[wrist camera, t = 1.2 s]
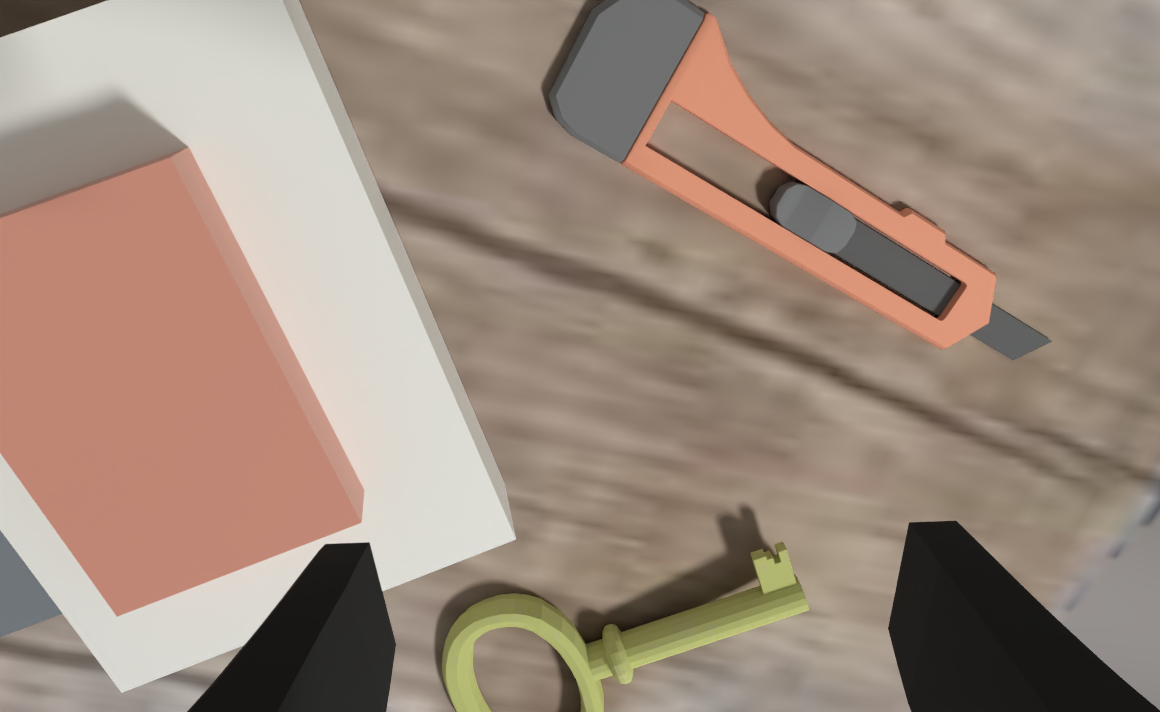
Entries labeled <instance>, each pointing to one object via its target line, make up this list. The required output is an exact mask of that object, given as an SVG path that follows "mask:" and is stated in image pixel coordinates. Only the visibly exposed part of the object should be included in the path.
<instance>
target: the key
mask: <svg viewBox="0 0 1160 712" xmlns="http://www.w3.org/2000/svg"><path fill="white" fill-rule="evenodd" d="M775 548H776V551H777V555H774V556H772V555H771V553H770V551H766V552H764V551H763V549H760V550H757V551H754V552H751V553H750V555H751V558H752V561H753V564H754V568H755V571H756V574H757V577H758V580H759V584H760V586H758V587H755V588H752V589H749V590H746V591H743V592H740V593H737V594H734V595H731V596H728V597H725V598H722V599H719V600H716V601H713V602H710V603H707V604H704V605H701V606H698V607H695V608H692V609H689V610H686V611H683V612H680V613H677V614H674V615H671V616H668V617H665V618H662V619H659V620H656V621H653V622H650V623H647V624H644V625H641V626H638V627H635V628H632V629H629V630H626V631H623V632H621V631H620V629H619V628H618V627H617V626H616V625H614V624H608V625H606V626H605V627H604V629H603V632H602V639H599V640H596V641H593V642H590V643H587V644H585V642H584V640H583V638H582V636H581V635H580V633H579V632H578V630H577V629H576V627H575V626H574V624H573V623H572V622H571V621H570V620H569V619H568V618H567V617H566V616H565V615H564V614H563V613H562V612H561V611H560V610H559V609H557V608H555V607H554V606H552V605H551V604H549V603H547V602H546V601H544V600H543V599H541V598H538V597H534V596H530V595H526V594H517V593H511V594H501V595H497V596H494V597H490V598H487V599H484V600H482V601H480V602H478V603H476V604H474V605H472V606H470V607H469V608H468V609H467V610H466V611H465V612H463V613H462V614H461V615H460V616H459V618H458V619H457V620H456V622H455V623H454V624H453V626H452V627H451V629H450V631H449V633H448V636H447V638H446V641H445V645H444V650H443V655H442V674H443V680H444V683H445V686H446V689H447V692H448V695H449V697H450V699H451V702H452V704H453V706H454V708H455V710H456V711H457V712H492V711H491V710H490V709H489V707H488V705H487V704H486V702H485V700H484V699H483V697H482V695H481V692H480V690H479V688H478V685H477V682H476V678H475V674H474V669H473V647H474V642H475V641H476V639H477V638H478V637H480V636H481V635H482V634H483V633H485V632H487V631H489V630H491V629H496V628H501V627H520V628H524V629H527V630H530V631H533V632H534V633H536V634H537V635H539V636H540V637H542V638H543V639H544V640H546V641H547V642H549V643H550V644H551V645H552V646H553V647H554V648H555V649H556V650H557V651H558V652H559V653H560V654H561V656H562V657H563V659H564V660H565V662H566V663H567V665H568V666H569V667H570V669H571V671H572V673H573V675H574V677H575V678H576V681H577V684H578V688H579V692H580V696H581V710H580V712H603V711H604V695H603V689H602V685H601V681H600V679H603V678H606V677H609V676H612V675H614V676H615V678H616V679H617V680H618V681H619V682H620V683H622V684H628V683H629V682H631V680H632V677H633V668H636V667H639V666H642V665H645V664H648V663H651V662H654V661H657V660H660V659H663V658H666V657H669V656H672V655H675V654H678V653H681V652H684V651H687V650H690V649H693V648H696V647H699V646H703V645H706V644H709V643H712V642H715V641H718V640H721V639H724V638H727V637H730V636H733V635H736V634H739V633H742V632H745V631H748V630H751V629H754V628H757V627H760V626H763V625H766V624H769V623H772V622H775V621H778V620H781V619H784V618H787V617H790V616H793V615H796V614H799V613H802V612H805V611H808V610H809V608H808V604H807V601H806V597H805V595H804V592H803V590H802V587H801V585H800V583H799V580H798V578H797V577H796V575H795V574H794V573H793V570H792V566H791V563H790V559H789V556H788V552H787V549H786V547H785V545H784V543H783V542H781V543H778V544H775Z"/></svg>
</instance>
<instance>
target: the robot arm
mask: <svg viewBox="0 0 1160 712" xmlns="http://www.w3.org/2000/svg"><path fill="white" fill-rule="evenodd" d="M888 629H889V633H890V637H891V641H892V645H893V649H894V653H895V657H896V660H897V664H898V668H899V672H900V675H901V679H902V683H903V686H904V690H905V693H906V697H907V700H908V704H909V706H910V709H911V711H912V712H1160V710H1158V709H1157V708H1156V707H1155V706H1154V705H1153V704H1151V703H1150V702H1149V701H1148V700H1147V699H1145V698H1144V697H1143V696H1142V695H1140V694H1139V693H1138V692H1137V691H1136V690H1135V689H1134V688H1132V687H1131V686H1130V685H1129V684H1128V683H1127V682H1125V681H1124V680H1123V679H1122V678H1121V677H1120V676H1119V675H1117V674H1116V673H1115V672H1114V671H1113V670H1112V669H1111V668H1109V667H1108V666H1107V665H1106V664H1105V663H1104V662H1103V661H1102V660H1100V659H1099V658H1098V657H1097V656H1096V655H1095V654H1094V653H1093V652H1092V651H1091V650H1090V649H1089V648H1087V647H1086V646H1085V645H1084V644H1083V643H1082V642H1081V641H1080V640H1079V639H1078V638H1077V637H1076V636H1075V635H1073V634H1072V633H1071V632H1070V631H1069V630H1068V629H1067V628H1066V627H1065V626H1064V625H1063V624H1062V623H1060V622H1059V621H1058V620H1057V619H1056V618H1055V617H1054V616H1053V615H1052V614H1051V613H1050V612H1049V611H1048V610H1047V609H1046V608H1045V607H1044V606H1043V605H1041V604H1040V603H1039V602H1038V601H1037V600H1036V599H1035V598H1034V597H1033V596H1032V595H1031V594H1030V593H1029V592H1028V591H1027V590H1026V589H1025V588H1024V587H1023V586H1022V585H1021V584H1020V583H1019V582H1018V581H1017V580H1016V579H1015V578H1014V577H1013V576H1012V575H1011V574H1010V573H1009V572H1008V571H1007V570H1006V569H1005V568H1004V567H1003V566H1002V565H1001V564H1000V563H999V562H998V561H997V560H996V559H995V558H994V557H993V556H992V555H991V554H990V553H988V552H987V551H986V550H985V549H984V548H983V547H982V546H981V545H980V544H979V543H978V542H977V541H976V540H975V539H974V538H973V537H972V536H971V535H970V534H969V533H968V532H967V531H966V530H965V529H964V528H963V527H962V526H961V525H960V524H959V523H958V522H957V521H939V522H912V523H909V526H908V531H907V536H906V541H905V546H904V551H903V556H902V561H901V566H900V571H899V576H898V582H897V587H896V592H895V597H894V602H893V607H892V612H891V617H890V622H889V627H888ZM395 646H396V643H395V639H394V635H393V631H392V627H391V624H390V620H389V616H388V612H387V608H386V604H385V600H384V596H383V592H382V589H381V585H380V581H379V577H378V573H377V569H376V565H375V561H374V557H373V554H372V550H371V546H370V542H365V543H337V544H325V545H324V546H323V547H322V548H321V549H320V550H319V551H318V552H317V554H316V555H315V556H314V557H313V559H312V560H311V561H310V563H309V564H308V565H307V566H306V568H305V569H304V570H303V572H302V573H301V574H300V576H299V577H298V578H297V580H296V581H295V582H294V583H293V585H292V586H291V587H290V589H289V590H288V591H287V592H286V594H285V595H284V596H283V598H282V599H281V600H280V601H279V603H278V604H277V605H276V607H275V608H274V609H273V610H272V612H271V613H270V614H269V615H268V617H267V618H266V619H265V620H264V622H263V623H262V624H261V626H260V627H259V628H258V629H257V631H256V632H255V633H254V634H253V635H252V637H251V638H250V639H249V640H248V641H247V643H246V644H245V645H244V646H243V647H242V649H241V650H240V651H239V652H238V654H237V655H236V656H235V657H234V658H233V660H232V661H231V662H230V663H229V664H228V666H227V667H226V668H225V669H224V670H223V672H222V673H221V674H220V675H219V676H218V678H217V679H216V680H215V681H214V682H213V683H212V685H211V686H210V687H209V688H208V689H207V690H206V691H205V693H204V694H203V695H202V696H201V697H200V698H199V699H198V700H197V701H196V703H195V704H194V705H193V706H192V707H191V708H190V709H189V710H188V711H187V712H386V708H387V702H388V696H389V689H390V683H391V675H392V668H393V661H394V654H395Z"/></svg>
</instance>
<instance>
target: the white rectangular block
mask: <svg viewBox="0 0 1160 712" xmlns="http://www.w3.org/2000/svg"><path fill="white" fill-rule="evenodd" d="M187 147H189V148H190V150H191V152H192V154H193V156H194V158H195V160H196V162H197V164H198V166H199V168H200V170H201V172H202V174H203V176H204V178H205V180H206V182H207V184H208V186H209V188H210V189H211V191H212V193H213V195H214V197H215V199H216V201H217V203H218V205H219V207H220V209H221V211H222V213H223V215H224V217H225V219H226V221H227V223H228V225H229V227H230V229H231V231H232V233H233V234H234V236H235V238H236V240H237V242H238V244H239V246H240V248H241V250H242V252H243V254H244V256H245V258H246V260H247V262H248V264H249V266H250V268H251V270H252V272H253V274H254V276H255V277H256V279H257V281H258V283H259V285H260V287H261V289H262V291H263V293H264V295H265V297H266V299H267V301H268V303H269V305H270V307H271V309H272V311H273V313H274V315H275V317H276V319H277V320H278V322H279V324H280V326H281V328H282V330H283V332H284V334H285V336H286V338H287V340H288V342H289V344H290V346H291V348H292V350H293V352H294V354H295V356H296V358H297V360H298V362H299V363H300V365H301V367H302V369H303V371H304V373H305V375H306V377H307V379H308V381H309V383H310V385H311V387H312V389H313V391H314V393H315V395H316V397H317V399H318V401H319V403H320V405H321V406H322V408H323V410H324V412H325V414H326V416H327V418H328V420H329V422H330V424H331V426H332V428H333V430H334V432H335V434H336V436H337V438H338V440H339V442H340V444H341V446H342V448H343V449H344V451H345V453H346V455H347V457H348V459H349V461H350V463H351V465H352V467H353V469H354V471H355V473H356V475H357V477H358V479H359V481H360V483H361V485H362V487H363V489H364V501H363V512H362V523H360V524H357V525H354V526H352V527H349V528H347V529H344V530H341V531H339V532H336V533H334V534H331V535H328V536H326V537H323V538H321V539H318V540H315V541H313V542H310V543H308V544H305V545H302V546H300V547H297V548H295V549H292V550H289V551H287V552H284V553H282V554H279V555H276V556H274V557H271V558H269V559H266V560H263V561H261V562H258V563H256V564H253V565H250V566H248V567H245V568H243V569H240V570H237V571H235V572H232V573H229V574H227V575H224V576H222V577H219V578H216V579H214V580H211V581H209V582H206V583H203V584H201V585H198V586H196V587H193V588H190V589H188V590H185V591H183V592H180V593H177V594H175V595H172V596H170V597H167V598H164V599H162V600H159V601H157V602H154V603H151V604H149V605H146V606H144V607H141V608H138V609H136V610H133V611H131V612H128V613H125V614H123V615H120V616H118V617H117V616H116V615H115V613H114V612H113V611H112V609H111V608H110V606H109V605H108V604H107V602H106V601H105V599H104V598H103V597H102V595H101V594H100V592H99V591H98V589H97V588H96V587H95V585H94V584H93V582H92V581H91V580H90V578H89V577H88V575H87V574H86V573H85V571H84V570H83V568H82V567H81V566H80V564H79V563H78V561H77V560H76V559H75V557H74V556H73V554H72V553H71V552H70V550H69V549H68V547H67V546H66V545H65V543H64V542H63V540H62V539H61V538H60V536H59V535H58V533H57V532H56V531H55V529H54V528H53V526H52V525H51V524H50V522H49V521H48V519H47V518H46V517H45V515H44V514H43V512H42V511H41V510H40V508H39V507H38V505H37V504H36V503H35V501H34V500H33V498H32V497H31V496H30V494H29V493H28V491H27V490H26V489H25V487H24V486H23V484H22V483H21V482H20V480H19V479H18V477H17V476H16V475H15V473H14V472H13V470H12V469H11V468H10V466H9V465H8V463H7V462H6V461H5V459H4V458H3V456H2V455H1V454H0V530H1V532H2V533H3V534H4V536H5V537H6V538H7V540H8V541H9V542H10V544H11V545H12V546H13V548H14V549H15V550H16V552H17V553H18V554H19V556H20V557H21V558H22V560H23V561H24V562H25V564H26V565H27V566H28V568H29V569H30V571H31V572H32V573H33V575H34V576H35V577H36V579H37V580H38V581H39V583H40V584H41V585H42V587H43V588H44V589H45V591H46V592H47V593H48V595H49V596H50V597H51V599H52V600H53V601H54V603H55V604H56V605H57V607H58V608H59V609H60V611H61V612H62V613H63V615H64V616H65V617H66V619H67V620H68V621H69V623H70V624H71V625H72V627H73V628H74V629H75V631H76V632H77V633H78V635H79V636H80V637H81V639H82V640H83V641H84V643H85V644H86V645H87V647H88V648H89V650H90V651H91V652H92V654H93V655H94V656H95V658H96V659H97V660H98V662H99V663H100V664H101V666H102V667H103V668H104V670H105V671H106V672H107V674H108V675H109V676H110V678H111V679H112V680H113V682H114V683H115V684H116V686H117V687H118V688H119V690H120V691H121V692H125V691H127V690H130V689H133V688H135V687H138V686H140V685H143V684H145V683H148V682H151V681H153V680H156V679H158V678H161V677H163V676H166V675H169V674H171V673H174V672H176V671H179V670H181V669H184V668H187V667H189V666H192V665H194V664H197V663H199V662H202V661H205V660H207V659H210V658H212V657H215V656H217V655H220V654H223V653H225V652H228V651H230V650H233V649H235V648H238V647H241V646H243V645H245V644H246V643H247V641H248V640H249V639H250V638H251V637H252V635H253V634H254V633H255V632H256V631H257V629H258V628H259V627H260V626H261V624H262V623H263V622H264V620H265V619H266V618H267V617H268V615H269V614H270V613H271V612H272V610H273V609H274V608H275V607H276V605H277V604H278V603H279V601H280V600H281V599H282V598H283V596H284V595H285V594H286V592H287V591H288V590H289V589H290V587H291V586H292V585H293V583H294V582H295V581H296V580H297V578H298V577H299V576H300V574H301V573H302V572H303V570H304V569H305V568H306V566H307V565H308V564H309V563H310V561H311V560H312V559H313V557H314V556H315V555H316V554H317V552H318V551H319V550H320V549H321V548H322V547H323V546H324V545H325V544H337V543H365V542H370V546H371V550H372V554H373V557H374V561H375V565H376V569H377V573H378V577H379V581H380V585H381V589H382V591H385V590H387V589H390V588H392V587H395V586H397V585H400V584H403V583H405V582H408V581H410V580H413V579H415V578H418V577H421V576H423V575H426V574H428V573H431V572H433V571H436V570H439V569H441V568H444V567H446V566H449V565H451V564H454V563H457V562H459V561H462V560H464V559H467V558H469V557H472V556H475V555H477V554H480V553H482V552H485V551H487V550H490V549H493V548H495V547H498V546H500V545H503V544H505V543H508V542H511V541H513V540H516V536H515V531H514V527H513V522H512V517H511V512H510V507H509V503H508V498H507V493H506V488H505V483H504V481H503V479H502V476H501V474H500V472H499V469H498V467H497V465H496V462H495V460H494V458H493V455H492V453H491V451H490V448H489V446H488V444H487V441H486V439H485V436H484V434H483V432H482V429H481V427H480V425H479V422H478V420H477V418H476V415H475V413H474V411H473V408H472V406H471V404H470V401H469V399H468V397H467V394H466V392H465V390H464V387H463V385H462V382H461V380H460V378H459V375H458V373H457V371H456V368H455V366H454V364H453V361H452V359H451V357H450V354H449V352H448V350H447V347H446V345H445V343H444V340H443V338H442V336H441V333H440V331H439V329H438V326H437V324H436V321H435V319H434V317H433V314H432V312H431V310H430V307H429V305H428V303H427V300H426V298H425V296H424V293H423V291H422V289H421V286H420V284H419V282H418V279H417V277H416V275H415V272H414V270H413V267H412V265H411V263H410V260H409V258H408V256H407V253H406V251H405V249H404V246H403V244H402V242H401V239H400V237H399V235H398V232H397V230H396V228H395V225H394V223H393V221H392V218H391V216H390V213H389V211H388V209H387V206H386V204H385V202H384V199H383V197H382V195H381V192H380V190H379V188H378V185H377V183H376V181H375V178H374V176H373V174H372V171H371V169H370V167H369V164H368V162H367V160H366V157H365V155H364V152H363V150H362V148H361V145H360V143H359V141H358V138H357V136H356V134H355V131H354V129H353V127H352V124H351V122H350V120H349V117H348V115H347V113H346V110H345V108H344V106H343V103H342V101H341V98H340V96H339V94H338V91H337V89H336V87H335V84H334V82H333V80H332V77H331V75H330V73H329V70H328V68H327V66H326V63H325V61H324V59H323V56H322V54H321V52H320V49H319V47H318V44H317V42H316V40H315V37H314V35H313V33H312V30H311V28H310V26H309V23H308V21H307V19H306V16H305V14H304V12H303V9H302V7H301V5H300V2H299V0H107V1H104V2H101V3H99V4H96V5H93V6H90V7H87V8H84V9H81V10H78V11H75V12H73V13H70V14H67V15H64V16H61V17H58V18H55V19H52V20H49V21H47V22H44V23H41V24H38V25H35V26H32V27H29V28H26V29H24V30H21V31H18V32H15V33H12V34H9V35H6V36H3V37H0V214H2V213H5V212H8V211H10V210H13V209H16V208H19V207H22V206H24V205H27V204H30V203H33V202H36V201H38V200H41V199H44V198H47V197H50V196H52V195H55V194H58V193H61V192H64V191H66V190H69V189H72V188H75V187H78V186H80V185H83V184H86V183H89V182H92V181H94V180H97V179H100V178H103V177H106V176H108V175H111V174H114V173H117V172H120V171H122V170H125V169H128V168H131V167H133V166H136V165H139V164H142V163H145V162H147V161H150V160H153V159H156V158H159V157H161V156H164V155H167V154H170V153H173V152H175V151H178V150H181V149H184V148H187Z"/></svg>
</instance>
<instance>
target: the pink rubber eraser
mask: <svg viewBox="0 0 1160 712" xmlns="http://www.w3.org/2000/svg"><path fill="white" fill-rule="evenodd" d="M0 454H1V455H2V456H3V458H4V459H5V461H6V462H7V463H8V465H9V466H10V468H11V469H12V470H13V472H14V473H15V475H16V476H17V477H18V479H19V480H20V482H21V483H22V484H23V486H24V487H25V489H26V490H27V491H28V493H29V494H30V496H31V497H32V498H33V500H34V501H35V503H36V504H37V505H38V507H39V508H40V510H41V511H42V512H43V514H44V515H45V517H46V518H47V519H48V521H49V522H50V524H51V525H52V526H53V528H54V529H55V531H56V532H57V533H58V535H59V536H60V538H61V539H62V540H63V542H64V543H65V545H66V546H67V547H68V549H69V550H70V552H71V553H72V554H73V556H74V557H75V559H76V560H77V561H78V563H79V564H80V566H81V567H82V568H83V570H84V571H85V573H86V574H87V575H88V577H89V578H90V580H91V581H92V582H93V584H94V585H95V587H96V588H97V589H98V591H99V592H100V594H101V595H102V597H103V598H104V599H105V601H106V602H107V604H108V605H109V606H110V608H111V609H112V611H113V612H114V613H115V615H116V616H117V617H118V616H120V615H123V614H125V613H128V612H131V611H133V610H136V609H138V608H141V607H144V606H146V605H149V604H151V603H154V602H157V601H159V600H162V599H164V598H167V597H170V596H172V595H175V594H177V593H180V592H183V591H185V590H188V589H190V588H193V587H196V586H198V585H201V584H203V583H206V582H209V581H211V580H214V579H216V578H219V577H222V576H224V575H227V574H229V573H232V572H235V571H237V570H240V569H243V568H245V567H248V566H250V565H253V564H256V563H258V562H261V561H263V560H266V559H269V558H271V557H274V556H276V555H279V554H282V553H284V552H287V551H289V550H292V549H295V548H297V547H300V546H302V545H305V544H308V543H310V542H313V541H315V540H318V539H321V538H323V537H326V536H328V535H331V534H334V533H336V532H339V531H341V530H344V529H347V528H349V527H352V526H354V525H357V524H360V523H362V512H363V501H364V489H363V487H362V485H361V483H360V481H359V479H358V477H357V475H356V473H355V471H354V469H353V467H352V465H351V463H350V461H349V459H348V457H347V455H346V453H345V451H344V449H343V448H342V446H341V444H340V442H339V440H338V438H337V436H336V434H335V432H334V430H333V428H332V426H331V424H330V422H329V420H328V418H327V416H326V414H325V412H324V410H323V408H322V406H321V405H320V403H319V401H318V399H317V397H316V395H315V393H314V391H313V389H312V387H311V385H310V383H309V381H308V379H307V377H306V375H305V373H304V371H303V369H302V367H301V365H300V363H299V362H298V360H297V358H296V356H295V354H294V352H293V350H292V348H291V346H290V344H289V342H288V340H287V338H286V336H285V334H284V332H283V330H282V328H281V326H280V324H279V322H278V320H277V319H276V317H275V315H274V313H273V311H272V309H271V307H270V305H269V303H268V301H267V299H266V297H265V295H264V293H263V291H262V289H261V287H260V285H259V283H258V281H257V279H256V277H255V276H254V274H253V272H252V270H251V268H250V266H249V264H248V262H247V260H246V258H245V256H244V254H243V252H242V250H241V248H240V246H239V244H238V242H237V240H236V238H235V236H234V234H233V233H232V231H231V229H230V227H229V225H228V223H227V221H226V219H225V217H224V215H223V213H222V211H221V209H220V207H219V205H218V203H217V201H216V199H215V197H214V195H213V193H212V191H211V189H210V188H209V186H208V184H207V182H206V180H205V178H204V176H203V174H202V172H201V170H200V168H199V166H198V164H197V162H196V160H195V158H194V156H193V154H192V152H191V150H190V148H189V147H187V148H184V149H181V150H178V151H175V152H173V153H170V154H167V155H164V156H161V157H159V158H156V159H153V160H150V161H147V162H145V163H142V164H139V165H136V166H133V167H131V168H128V169H125V170H122V171H120V172H117V173H114V174H111V175H108V176H106V177H103V178H100V179H97V180H94V181H92V182H89V183H86V184H83V185H80V186H78V187H75V188H72V189H69V190H66V191H64V192H61V193H58V194H55V195H52V196H50V197H47V198H44V199H41V200H38V201H36V202H33V203H30V204H27V205H24V206H22V207H19V208H16V209H13V210H10V211H8V212H5V213H2V214H0Z"/></svg>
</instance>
